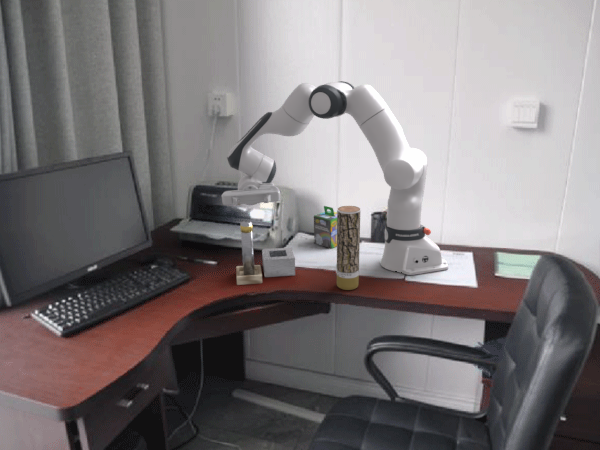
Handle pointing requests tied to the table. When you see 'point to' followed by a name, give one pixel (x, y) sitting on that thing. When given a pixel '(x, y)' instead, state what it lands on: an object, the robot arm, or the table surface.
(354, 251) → the paper tube
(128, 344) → the table surface
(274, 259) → the socket block
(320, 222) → the chalk box
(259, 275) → the birch rack
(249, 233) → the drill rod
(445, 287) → the table surface
